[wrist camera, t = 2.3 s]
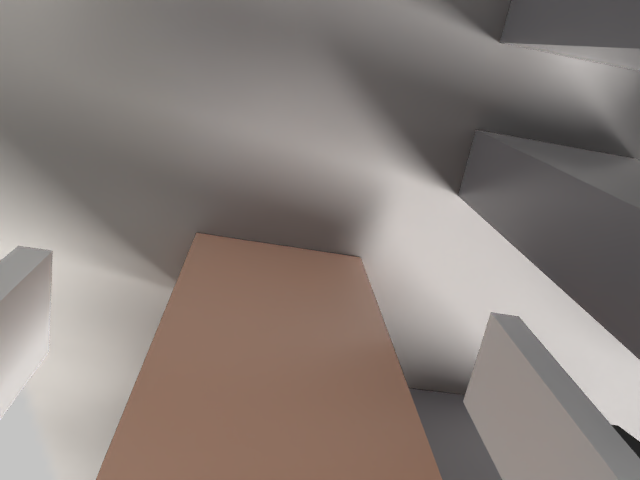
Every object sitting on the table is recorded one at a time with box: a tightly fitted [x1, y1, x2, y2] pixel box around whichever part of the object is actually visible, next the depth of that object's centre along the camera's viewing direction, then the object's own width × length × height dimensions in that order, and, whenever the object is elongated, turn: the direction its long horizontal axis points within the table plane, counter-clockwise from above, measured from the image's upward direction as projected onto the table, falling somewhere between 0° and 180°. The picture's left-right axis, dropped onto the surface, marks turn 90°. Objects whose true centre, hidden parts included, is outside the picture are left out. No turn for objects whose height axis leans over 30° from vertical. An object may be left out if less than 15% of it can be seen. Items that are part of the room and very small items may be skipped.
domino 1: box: [96, 233, 442, 480], centre depth 13 cm, size 2×5×10 cm, turn 80°
